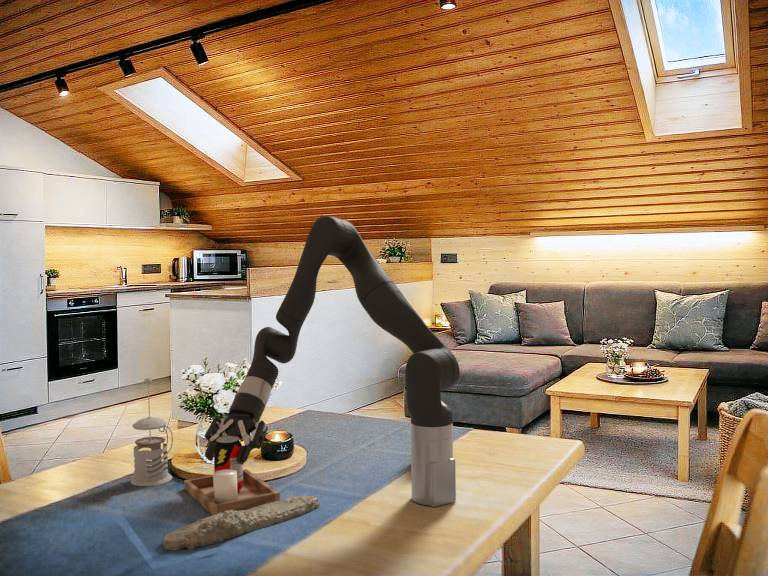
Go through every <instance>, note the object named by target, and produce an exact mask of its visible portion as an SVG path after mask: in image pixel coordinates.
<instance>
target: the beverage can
mask: <svg viewBox="0 0 768 576" xmlns="http://www.w3.org/2000/svg"><path fill="white" fill-rule="evenodd" d="M216 441H217V442H216V444H215V446H214V457H213V464H214V465H213V467H214V468H213V469H214V470H213V471H214V472H216V471H219V470H225V469H232V470H236V471H237V490H238V491H239V490H240V489H241V488H242V487H243V470H244V466H243V465H244V464H243V465H242V464H239V463H238V462H237V457H238V455H239V453H240V450H241V448H242V446H243V445H242V443H241V440H239V437H237V436H223V437H219V438H217V439H216ZM214 472H213V473H214Z"/></svg>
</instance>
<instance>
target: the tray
mask: <svg viewBox="0 0 768 576" xmlns="http://www.w3.org/2000/svg"><path fill="white" fill-rule="evenodd" d="M183 484H184V485H183V486H184V487H183V489H184V490H185V492H186V493H187V494H189V495H190V496H191V497H192V498H193V499H195V501H196V502H197V503H198V504H199V505H201V506H202V507H203V508H204V510H206V512H208V513H209V514H210V516H212V515H215V514H217V513H220V512H221V513H224V512H225V511H227V510H233V511H239V510H247V509H250V508H253V507H257V506H259V505H263V504H267V503H271V502H275V501H280V500H281V498H280V497H281V492H280V491H278V490H277V489H275V488H274V487H273V486H271V485H270V484H268V483H267V482H266V481H264V480H263V479H261V478H260V477H258V476H256V475H255V474H254V473H252V472H251V471H249V470H248V469H247V468H245V469H244V468H243V487H242V488H241V489H240V490H239V491H238V500H233V501H228V502H223V503H218V504H215V503H214V486H213V474H212V475H206V476H202V477H201V476H199V477H195V478H190V479H185V480H183Z"/></svg>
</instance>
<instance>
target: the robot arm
mask: <svg viewBox="0 0 768 576" xmlns="http://www.w3.org/2000/svg"><path fill="white" fill-rule="evenodd" d="M300 255H301V256H300V257H299V258H300V259H299V262H298V265H297V269H296V271H295V274H294V276H293V279H292V281H291V283H290V286H289V289H288V290H287V293H286V294H285V297H284V298H283V300H282V302H281V304H280V306H279V308H278V310H277V312H276V315H275V319H276V321H277V323H279V324H280V325H281V326H282V327H284V328H285V330H286V331H287V333H288V334H286V333H284V332H282V331H280V330H277V329H276V328H273V327H272V326H271V327H270V326H266V327H263V328H262V329H260V330H259V331H258V332H257V334H256V336H255V341H254V349H253V356H252V361H251V364H250V366H249V369H248V371H247V373H246V375H245V376H244V379H243V381H242V383H240V386H239V388H238V390H237V392H236V393H235V397H234V398H233V400H232V403H231V404H230V408H229V411H228V415H227V417H225V418H220V417H219V416H218V415H216V416H214V418H213V419H212V421H211V424H210V425H209V427H208V429H207V430H206V433H205V434H204V438H205V440H207V442H208V445H207V448H206V450H205V452H204V456H205V458H206V459H207V460H208V461H213V460H214V446H215V444H216V442H217V441H216V439H217V438H219V437H223V436H237V437H239V441H243V444H244V445H242V448H241V450H240V453H239V455H238V457H237V462H238V463H239V464H242V465H244V464H245V463H246V462H247V461H248V459H249V456H250V454H251V451H253V450H254V449H257V450H259V449H261V448H262V446H263V443H264V440H265V438H266V434H267V431H268V429H269V426H268V425H267V423H265V421H264V420H261V419H262V416H263V413H264V411H265V408H266V407H267V404H268V402H269V399H270V397H271V393H272V389H273V387H274V385H275V383H276V381H277V378H278V376H279V368H278V367H277V365H276V364H274V363H273V362H272V361H271V360H273V361H276V362H277V363H279V364H284V365H285V364H287V363H290V362H291V361H292V360H293V358H294V357H295V354H296V352H297V347H298V341H299V337H300V332H301V329H302V327H303V325H304V323H305V320H306V319H307V317H308V315H309V313H310V311H311V310H312V307H313V305H314V303H315V302H314V301H315V298H316V293H317V292H316V291H317V281H318V277H319V272H320V269H321V267H322V265H323V263H324V262H325V260H326V259H327V257H328V256H331V257H332V256H333V257H335V258H337V259H338V261H339V262H341V263H342V264H343V266H344V267H345V268H346V269H347V271H348V272H349V273H350V275H351V278H352V280H353V283H354V288H355V293H356V297H357V299H358V301H359V303H360V305H361V306H362V308H363V310H365V312H366V313H367V316H369V318H370V319H371V320H372V321H373V322H374V323H375V324H376V325H377V326H378V327H380V328H381V329H382V330H384V331H385V332H387V333H388V334H389V335H391V336H393V337H394V338H395V339H397V340H399V341H400V342H402V343H403V344H404V345H405V346H406V347H407V348H408V349H409V350H410V351H411V352H412V354H411V355H410V356H409V358H408V359H407V362H406V363H405V364H406V365H405V370H404V371H405V372H404V374H405V375H404V380H405V381H404V383H405V394H406V395H405V398H406V406H407V407H406V408H407V411H408V413H409V415H410V453H411V454H410V460H411V461H410V462H411V463H410V464H411V466H410V467H411V469H410V472H411V499H412V501H413V502H414V503H416V504H419V505H424V506H430V507H433V508H434V507H439V506H443V505H448V504H451V503H456V502H457V498H456V497H457V487H456V486H457V484H456V481H457V480H456V478H457V476H456V471H457V470H456V469H457V468H456V459H455V458H454V446H453V445H454V437H453V435H454V431H453V430H454V425H453V422H454V421H453V411H452V408H450V407H449V406H448V407H446V406H443V405H442V403H441V401H442V396H441V391H442V390H445V389H449V388H451V387H453V386H454V385H456V384H457V382H458V381H459V378H460V372H461V370H460V365H459V362H458V359H457V358H456V356H455V354H454V353H453V352H452V350H450V349H449V348H448V346H447V345H446V344H445V343H444V342H443V341H442V340H441V339H440V338H439V337H438V336H437V335H436V334H435V333H434V332H433V331H432V330H431V329H430V327H429V326H428V325H427V324H426V323H425V322H424V320H423V319H422V318H421V316H420V314H418V313H417V311H416V310H415V309H414V308H413V306H412V305H411V304H410V302H409V301H408V300H407V298H406V297H405V295H404V294H403V293H402V291H401V290H400V289H399V287H398V286H397V285H396V284H395V282H394V281H393V280H392V278H391V277H390V276H389V274H387V272H386V271H385V270H384V268H383V267H382V265H381V264H380V263H379V262H378V261H377V260H376V259H375V257H374V256H373V255H372V252H371V251H370V250H369V248H368V247H367V245H366V243H365V242H364V240H363V238H362V236H361V234H360V233H359V231H358V230H357V228H356V227H355V226H354V224H352V223H351V222H349V221H347V220H345V219H342V218H338V217H334V216H331V215H330V216H329V215H324V216H321V217H319V218H317V219H316V220H315V221H314V222H313V224H312V226H311V228H310V230H309V233H308V235H307V238H306V241H305V244H304V247H303V250H302V253H301V254H300ZM269 358H270V359H269ZM253 432H255V433H254V435H253V438H252V435H251V434H252V433H253ZM224 433H225V434H224Z"/></svg>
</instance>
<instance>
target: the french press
mask: <svg viewBox="0 0 768 576" xmlns="http://www.w3.org/2000/svg"><path fill="white" fill-rule="evenodd" d="M143 383H144V384H145V385H146V384H147V395H148V396H147V399H148V401H147V402H148V404H150V385H149V384H153V379H152V378H151V377H150V378H149V377H146V378H145V379H144V381H143ZM150 411H151V410H150V405H148V417H144V418H141V419H138V420H137V421H136V422H134V423H132V425H131V426H132V428H133V429H135V430H138V431H151V430H157V429H158V431H159V432H160V433H164V432H165V433H166V438H165V437H164V436H151V432H149V436H145V437H142V438H138V439H136V440H135V441H134V444H135V446H134V447H133V463H134V465H133V467H134V468H133V469H134V470H133V471H134V476H133V478H131V481H130V483H131V485H134V486H139V487H151V486H158V485H159V486H160V485H161V484H165V483H168V482H170V481H172V479H173V476H172V475H171V474H170V473H169V466H168V465H169V464H168V463H169V462H168V457H169V456H168V454H170V451H171V450H172V447H173V443H174V435H173V432H172V430H171V428H170V427H169V426H167V424H168V422H167V421H166V420H164V419H163V418H160V417H152V416H151V412H150ZM161 428H163V430H161ZM167 429H168V430H169V432H170V434H171V444H170V448H169V450H168V442H169V435H168V430H167ZM165 441H166V443H165ZM161 444H162V445H161ZM141 449H144V450H141ZM145 449H150V450H145ZM162 460H163V461H162ZM162 465H163V466H162Z"/></svg>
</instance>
